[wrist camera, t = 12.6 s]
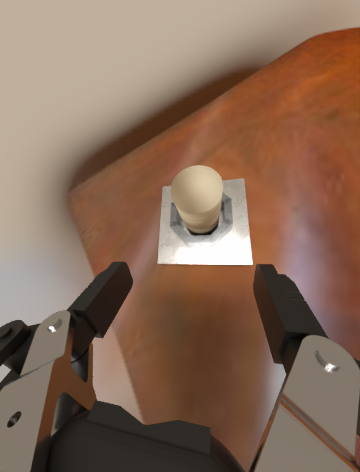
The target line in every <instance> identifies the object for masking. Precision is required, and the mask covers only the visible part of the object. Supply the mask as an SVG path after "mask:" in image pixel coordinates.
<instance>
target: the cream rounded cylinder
mask: <svg viewBox="0 0 360 472" xmlns="http://www.w3.org/2000/svg"><path fill="white" fill-rule="evenodd" d="M170 193H171V197H172V200H173V202H174V204H175V206H176V208H177V210H178V212H179V214H180V216H181V218H182V220H183V222H184V224H185V226H186V228H187V230H188V232H189V233H190V234H191V235H193V236H199V235H211V234H212V233H213V232H214V231H215V230H216V229H217V228H218V224H219V216H220V208H221V201H222V193H223V182H222V179H221V177H220V175H219V174H218V173H217V172H216V171H215V170H214V169H212V168H210V167H207V166H201V165H198V166H191V167H188V168H186V169H184V170H182V171H181V172H180V173H179V174H178V175H177V176H176V177H175V178H174V180H173V182H172V184H171V189H170Z"/></svg>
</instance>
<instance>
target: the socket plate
mask: <svg viewBox="0 0 360 472" xmlns="http://www.w3.org/2000/svg"><path fill="white" fill-rule="evenodd" d="M222 182H223V193H222V201H221V208H220V216H219V224H218V228H217V229H216V230H215V231H214V232H213V233H212V234H211V235H199V236H193V235H191V234H190V233H189V232H188V230H187V228H186V226H185V224H184V222H183V220H182V218H181V216H180V214H179V212H178V210H177V208H176V206H175V204H174V202H173V200H172V197H171V193H170V189H171V186H164V187H163V193H162V207H161V222H160V237H159V251H158V264H161V265H248V266H250V265H252V255H251V245H250V235H249V224H248V214H247V203H246V193H245V183H244V178H243V179H233V180H223V181H222Z"/></svg>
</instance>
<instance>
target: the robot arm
mask: <svg viewBox="0 0 360 472" xmlns="http://www.w3.org/2000/svg"><path fill="white" fill-rule="evenodd" d="M132 285H133V279H132V276H131V273H130V271H129V268H128V265H127V263H126V262H113V263H112V264H111V265H110V266H109V267H108V268H107V269H106V270H104V271H103V272H101V273H100V274H99V275H98V276H97V277H96V278H95V279H94V280H93V282H92V283H90V285H89V286H88V288H86V289H85V290H84V291H83V292H82V294H81V295H80V296H79V297H78V298H77V299H76V300H75V301H74V303H73V304H72V305H71V306H70V307H69V308H68V309H67V310H66V311H65V310H64V311H59V312H56V313H54V314H52V315H51V316H49V317H48V318H46V319H45V320H44V321H43V322H42V323H40V324H36V325H31V326H27V325H26V324H25V323H24V322H23V321H21V320H15V321H12V322H10V323H7V324H6V325H4V326H2V327H0V366H1V365H2V364H4V365H5V366H6V367H8V368H9V369H11V371H10V372H9V373H8V374H7V376H6V377H5V378H4V379H3V380H2V381H1V383H0V472H245V471H244V470H243V468H242V467H241V465H240V464H239V463H238V461H237V460H236V458H235V457H234V456H233V455H232V454H231V452H230V451H229V450H228V449H227V448H226V447H225V446H224V445H223V444H222V443H221V442H219V441H218V440H217V439H215V438H214V437H213V436H211V428H209V427H205V426H201V425H197V424H193V423H188V422H184V421H180V420H176V421H170V422H164V423H158V424H152V425H144V424H142V423H141V422H140V421H138V420H137V419H136V418H135V417H133V416H132V415H131V414H130V413H128V412H127V411H126V410H124V409H123V408H122V407H121V406H118V405H114V404H109V403H105V402H101V401H97V399H96V394H95V391H94V388H93V382H92V381H93V380H92V378H93V376H92V375H93V344H92V340H93V339H94V337H98V338H103V337H104V335H105V334H106V332H107V330H108V328H109V327H110V325H111V323H112V321H113V320H114V318H115V316H116V314H117V313H118V311H119V309H120V307H121V306H122V304H123V302H124V300H125V299H126V297H127V295H128V293H129V292H130V290H131V288H132ZM253 289H254V295H255V299H256V302H257V306H258V309H259V313H260V316H261V319H262V323H263V326H264V330H265V333H266V337H267V340H268V343H269V347H270V350H271V354H272V357H273V361H274V363H278V364H283V366H284V369H285V372H286V377H285V379H284V382H283V385H282V387H281V390H280V392H279V395H278V398H277V400H276V403H275V405H274V408H273V411H272V413H271V416H270V418H269V421H268V423H267V426H266V428H265V431H264V433H263V435H262V438H261V440H260V443H259V445H258V448H257V450H256V453H255V456H254V458H253V461H252V463H251V466H250V469H249V471H248V472H360V467H359V466H358V465H357V463H356V460H355V440H356V434H358V435H359V436H360V361H358V360H356V359H354V358H352V357H351V355H350V354H349V353H348V352H347V351H346V350H345V349H343V348H342V347H341V346H340V345H338V344H337V343H335V342H333V341H332V340H330V339H329V338H328V336H327V335H326V334H325V332H324V330H323V329H322V327H321V325H320V324H319V322H318V321H317V319H316V317H315V316H314V314H313V312H312V311H311V309H310V308H309V306H308V304H307V303H306V301H304V298H303V296H302V294H301V293H300V291H299V290H298V288H297V286H296V285H295V283H294V282H293V281H292V280H291V279H290V278H288V277H287V276H286V275H285V274H278V273H277V271H276V269H275V267H274V266H273V265H272V264H257V265H256V270H255V277H254V284H253Z"/></svg>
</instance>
